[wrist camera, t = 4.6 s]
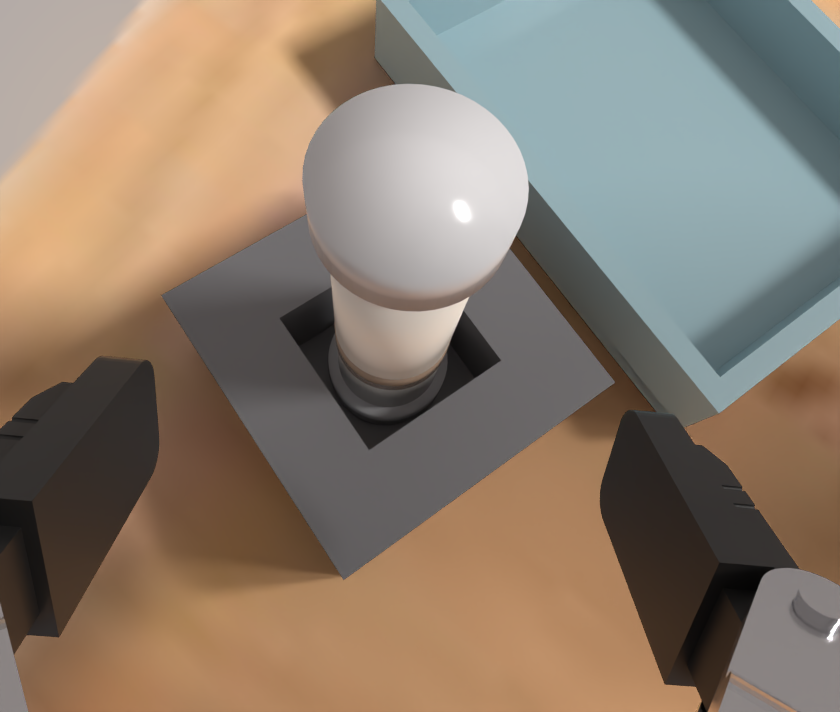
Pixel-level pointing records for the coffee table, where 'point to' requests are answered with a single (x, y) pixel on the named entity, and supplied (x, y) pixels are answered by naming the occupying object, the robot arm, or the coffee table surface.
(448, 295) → the white light bulb
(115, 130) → the coffee table surface
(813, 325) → the parts tray
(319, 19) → the coffee table surface
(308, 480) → the socket block
